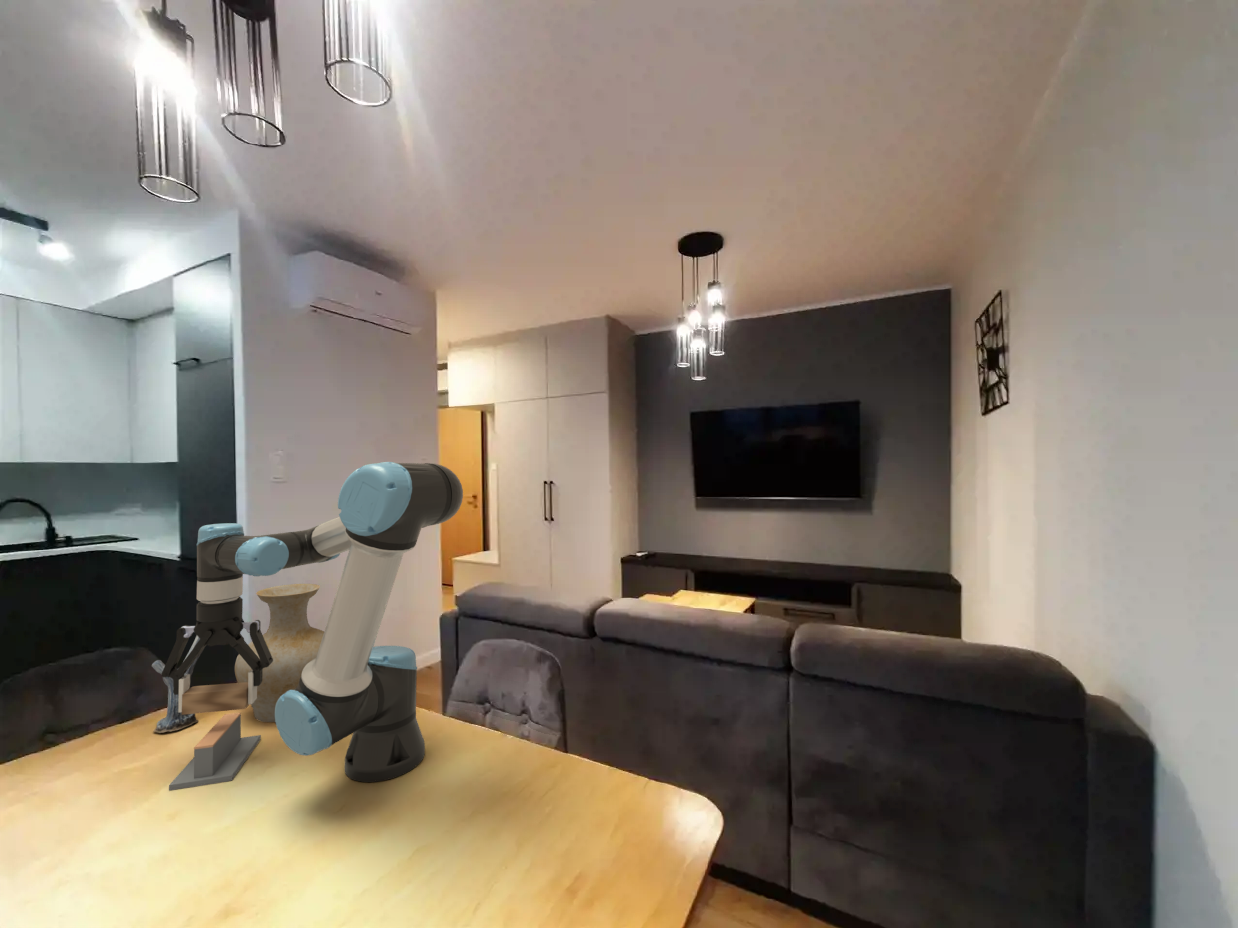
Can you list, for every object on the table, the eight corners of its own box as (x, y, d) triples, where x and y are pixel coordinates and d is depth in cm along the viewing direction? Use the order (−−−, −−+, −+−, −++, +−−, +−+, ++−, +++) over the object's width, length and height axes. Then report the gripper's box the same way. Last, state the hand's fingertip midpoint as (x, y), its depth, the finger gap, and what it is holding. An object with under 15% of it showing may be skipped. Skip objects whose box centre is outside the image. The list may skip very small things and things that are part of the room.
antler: (164, 737, 116) (165, 626, 116) (144, 730, 119) (145, 622, 119) (220, 714, 127) (221, 613, 127) (200, 709, 130) (201, 609, 130)
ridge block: (260, 739, 115) (261, 707, 115) (231, 780, 100) (232, 744, 100) (207, 746, 112) (207, 714, 112) (168, 790, 97) (169, 753, 97)
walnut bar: (253, 700, 110) (253, 681, 110) (245, 708, 106) (245, 689, 106) (192, 705, 107) (192, 686, 107) (181, 714, 103) (182, 694, 103)
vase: (254, 695, 137) (254, 583, 138) (345, 685, 144) (345, 578, 144) (217, 736, 117) (218, 603, 117) (326, 722, 123) (327, 596, 123)
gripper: (290, 590, 114) (289, 690, 114) (160, 598, 106) (158, 704, 106) (280, 599, 107) (279, 705, 106) (139, 608, 99) (137, 722, 99)
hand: (218, 705), depth 106 cm, fingers closed on walnut bar, 11 cm apart
